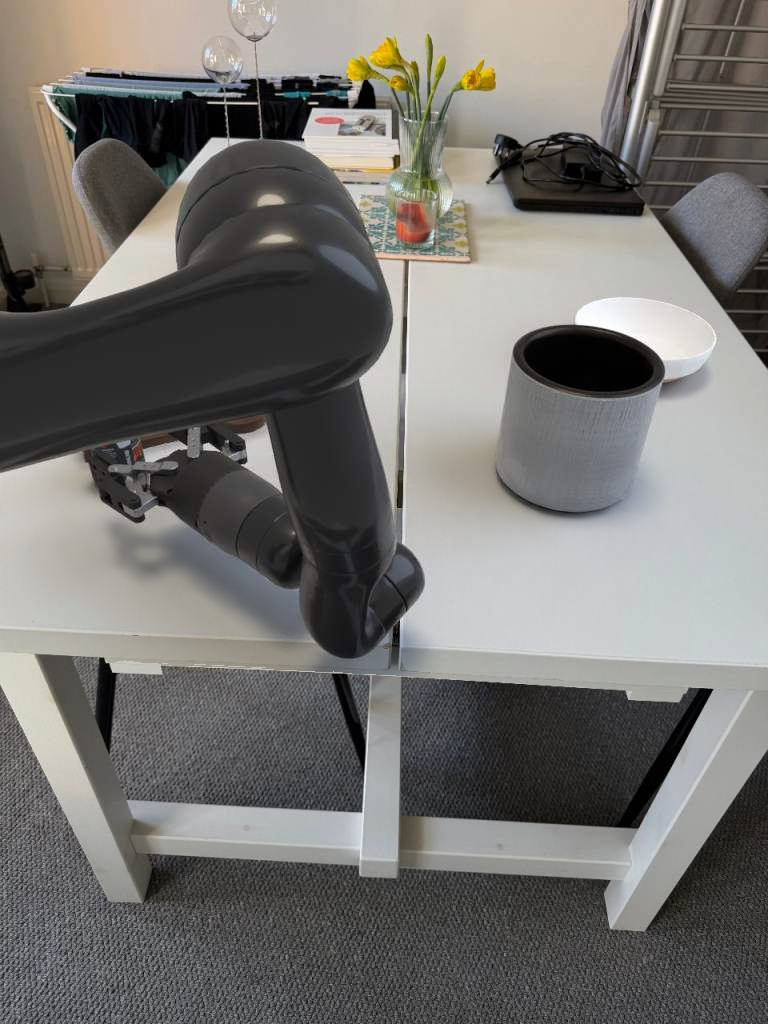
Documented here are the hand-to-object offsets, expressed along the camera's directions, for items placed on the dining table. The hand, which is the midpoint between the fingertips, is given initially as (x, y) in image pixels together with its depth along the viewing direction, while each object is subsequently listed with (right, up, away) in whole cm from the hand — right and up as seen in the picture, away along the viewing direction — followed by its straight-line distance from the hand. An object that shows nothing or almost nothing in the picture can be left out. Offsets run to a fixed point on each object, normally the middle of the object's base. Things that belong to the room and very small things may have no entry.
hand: (132, 439), depth 76 cm
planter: (+47, -3, +11) cm, 48 cm away
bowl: (+63, +14, +31) cm, 72 cm away
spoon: (0, +2, +15) cm, 15 cm away
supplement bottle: (-4, -4, +8) cm, 10 cm away
